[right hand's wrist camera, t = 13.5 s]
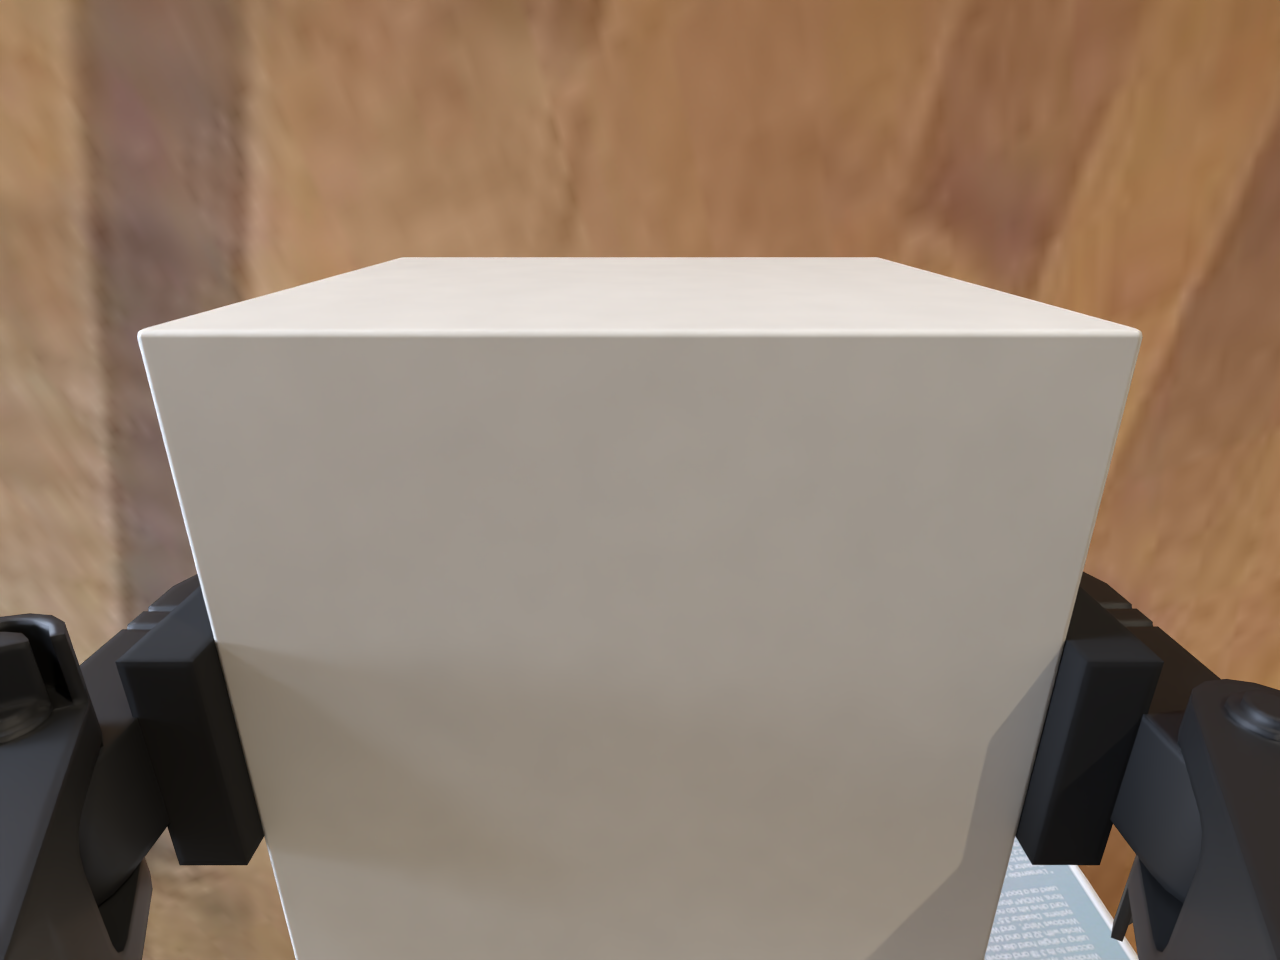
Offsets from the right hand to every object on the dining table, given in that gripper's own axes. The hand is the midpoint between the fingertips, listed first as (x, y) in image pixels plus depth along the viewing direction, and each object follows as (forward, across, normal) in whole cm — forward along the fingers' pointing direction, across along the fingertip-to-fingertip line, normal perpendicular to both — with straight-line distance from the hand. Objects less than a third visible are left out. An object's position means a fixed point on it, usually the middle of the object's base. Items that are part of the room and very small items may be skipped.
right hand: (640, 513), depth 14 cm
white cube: (+1, 0, 0) cm, 1 cm away
